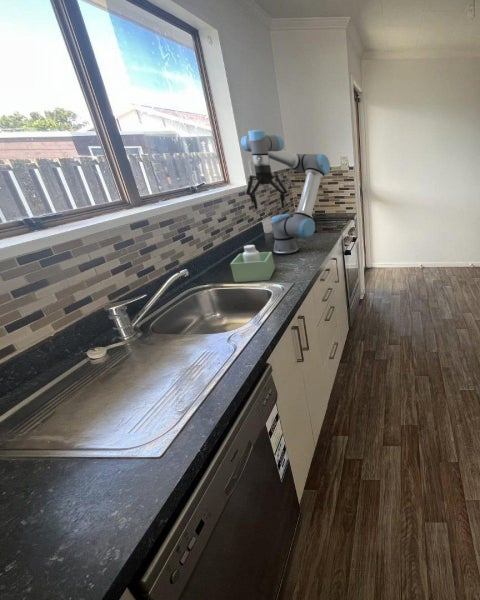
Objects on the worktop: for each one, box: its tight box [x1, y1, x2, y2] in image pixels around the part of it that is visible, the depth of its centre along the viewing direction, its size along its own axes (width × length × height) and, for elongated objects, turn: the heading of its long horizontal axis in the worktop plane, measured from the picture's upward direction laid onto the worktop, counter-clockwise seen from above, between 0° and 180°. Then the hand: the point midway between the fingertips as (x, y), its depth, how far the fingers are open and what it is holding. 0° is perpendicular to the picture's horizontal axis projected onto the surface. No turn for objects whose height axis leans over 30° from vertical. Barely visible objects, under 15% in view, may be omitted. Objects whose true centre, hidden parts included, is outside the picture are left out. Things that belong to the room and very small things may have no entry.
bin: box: [229, 251, 276, 283], centre depth 170 cm, size 17×17×10 cm
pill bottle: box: [242, 244, 261, 262], centre depth 168 cm, size 8×8×15 cm
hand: (269, 208), depth 173 cm, fingers open, 13 cm apart
